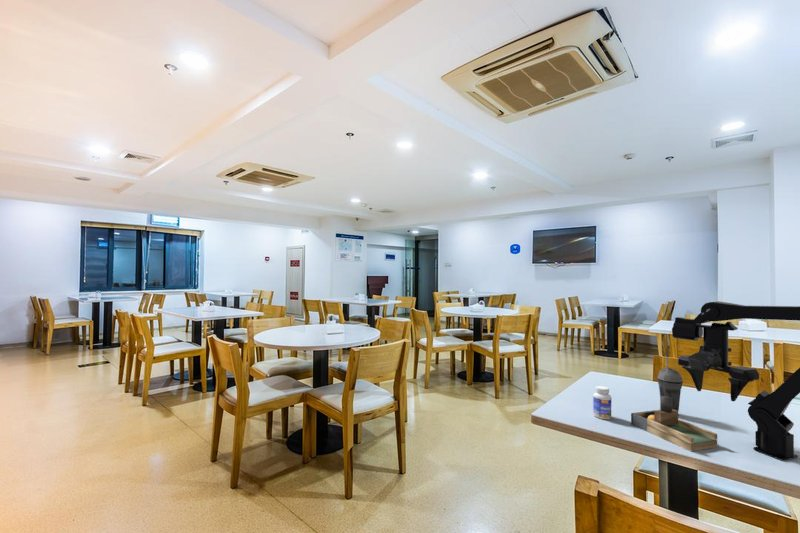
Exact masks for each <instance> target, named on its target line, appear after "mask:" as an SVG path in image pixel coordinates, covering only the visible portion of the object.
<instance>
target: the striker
mask: <svg viewBox="0 0 800 533" xmlns="http://www.w3.org/2000/svg"><path fill="white" fill-rule="evenodd" d="M659 398H660V399H659V403H660V404H659V406H660V408H659V409H656V411H654V421H655V422H657V423H660V424H662V425H665V426H668V425H675V424H678V419H679V411H677V410H674V409H672V398H671V397H668V396H660V395H659Z"/></svg>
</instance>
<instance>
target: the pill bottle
mask: <svg viewBox="0 0 800 533" xmlns="http://www.w3.org/2000/svg"><path fill="white" fill-rule="evenodd" d="M609 393H610V388H609V387H607V386H605V385H604V386H603V385H596V386H595V392H594V393H593V397H592V398H593V399H592V400H593V402H592V403H593V404H592V406H593V407H592V410H593V411H592V413H593V414H592V415H593V416H594V417H596V418H597V419H601V420H610V419H611V418H612V395H611V394H609Z"/></svg>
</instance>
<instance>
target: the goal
mask: <svg viewBox="0 0 800 533" xmlns="http://www.w3.org/2000/svg"><path fill="white" fill-rule="evenodd" d="M656 410H657V409H656ZM656 410H647V411H638V412H631V414H630V424H631V425H632V426H634V427H636V428H639V429H640V430H643V431H645V432H647V418H648V416H650V415H654V411H656Z"/></svg>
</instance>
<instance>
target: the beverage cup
mask: <svg viewBox="0 0 800 533" xmlns="http://www.w3.org/2000/svg"><path fill="white" fill-rule="evenodd" d="M668 362H669V361H668V356H667V355H665V364H666V368H663V369H661V370H660V371H659V372H658V375H657V384H658V390H659V397H660V396H668V397H671V398H672V409H674V410H677V411H678V412H679V411H680V402H681V401H680V399H681V392H682V389H683V388H682V387H683V383H684V382H683V377H682V375H681V373H680V371H679V372H678V371H677V370H676V369H674V368H670V367H669V363H668Z"/></svg>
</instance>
